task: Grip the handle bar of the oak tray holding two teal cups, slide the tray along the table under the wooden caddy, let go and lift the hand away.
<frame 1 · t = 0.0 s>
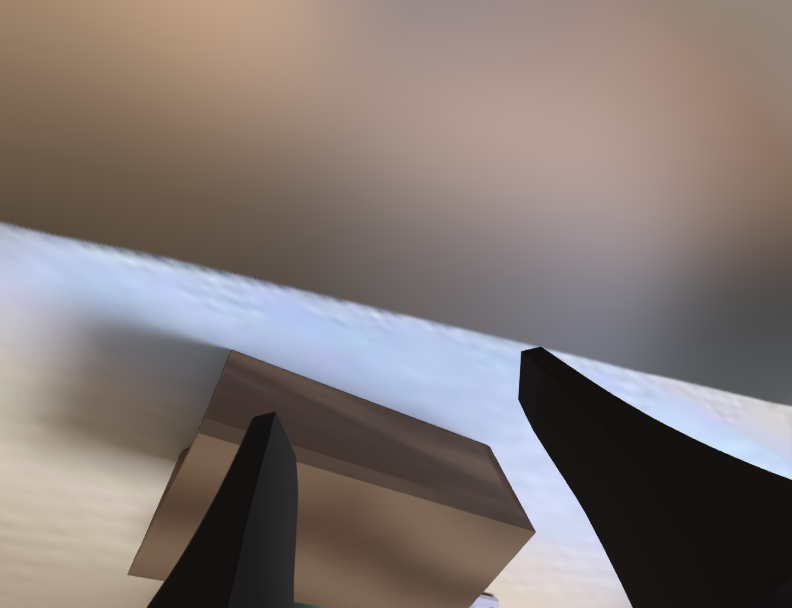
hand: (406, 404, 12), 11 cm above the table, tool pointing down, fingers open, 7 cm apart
wooden caddy: (344, 454, 25), on the table
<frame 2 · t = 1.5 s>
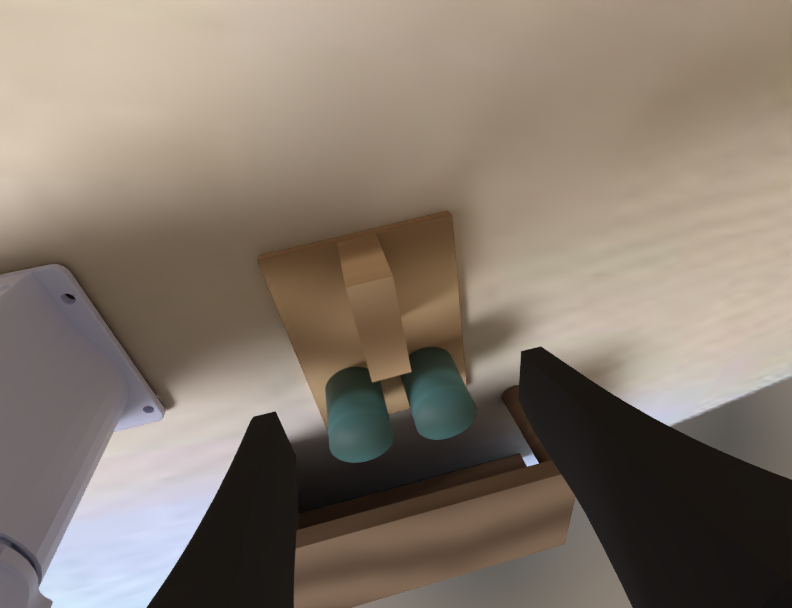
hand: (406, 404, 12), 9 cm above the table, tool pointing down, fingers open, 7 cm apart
tray: (377, 327, 22), on the table
wooden caddy: (402, 456, 28), on the table
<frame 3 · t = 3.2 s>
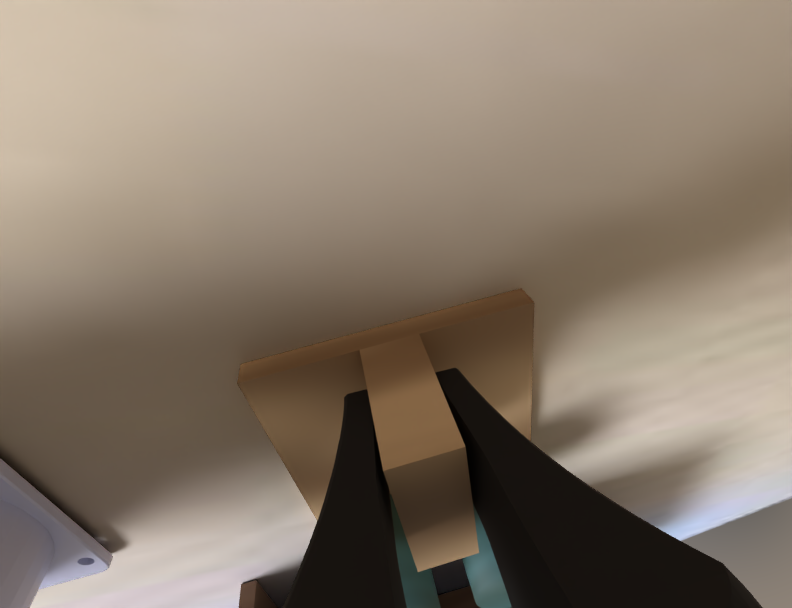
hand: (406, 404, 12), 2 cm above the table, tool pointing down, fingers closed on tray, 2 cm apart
tray: (412, 439, 16), on the table, touching gripper
wooden caddy: (431, 570, 22), on the table
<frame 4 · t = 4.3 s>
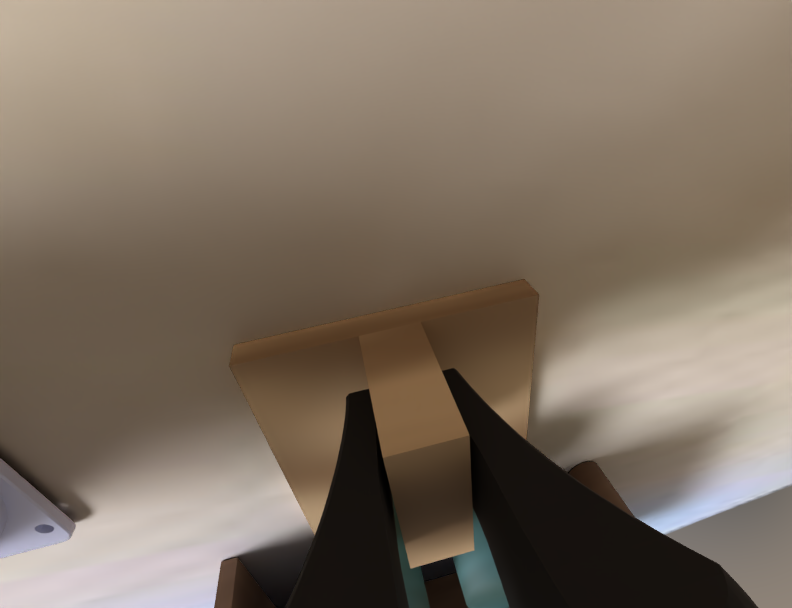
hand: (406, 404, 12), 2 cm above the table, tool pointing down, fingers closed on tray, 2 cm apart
tray: (406, 434, 15), on the table, touching gripper
wooden caddy: (427, 550, 21), on the table
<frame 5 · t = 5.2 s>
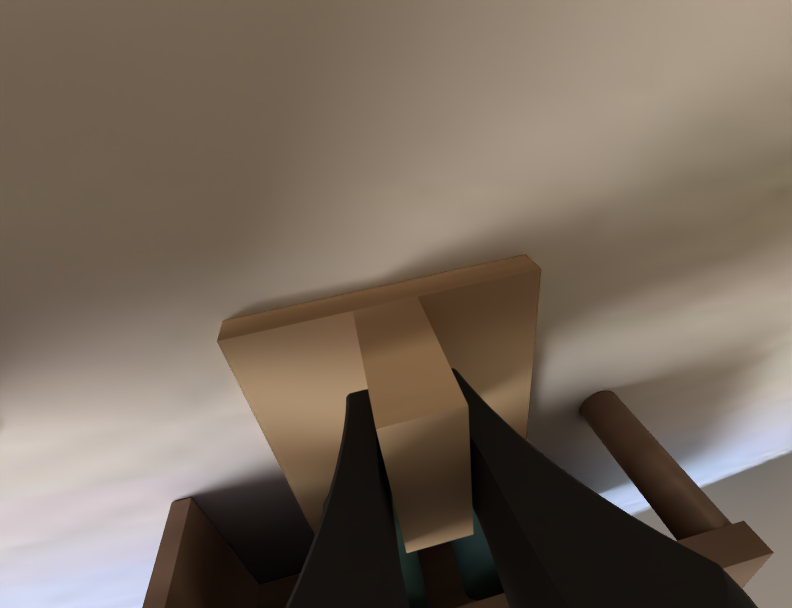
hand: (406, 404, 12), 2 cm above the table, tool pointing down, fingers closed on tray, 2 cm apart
tray: (403, 419, 15), on the table, touching gripper
wooden caddy: (418, 500, 18), on the table
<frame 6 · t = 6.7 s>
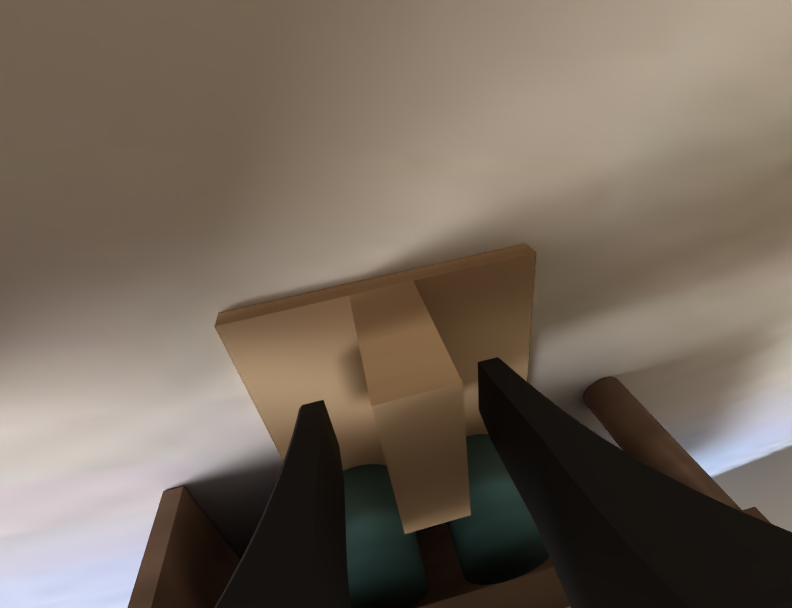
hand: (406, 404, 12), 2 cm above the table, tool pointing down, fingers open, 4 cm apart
tray: (402, 406, 15), on the table
wooden caddy: (417, 490, 17), on the table
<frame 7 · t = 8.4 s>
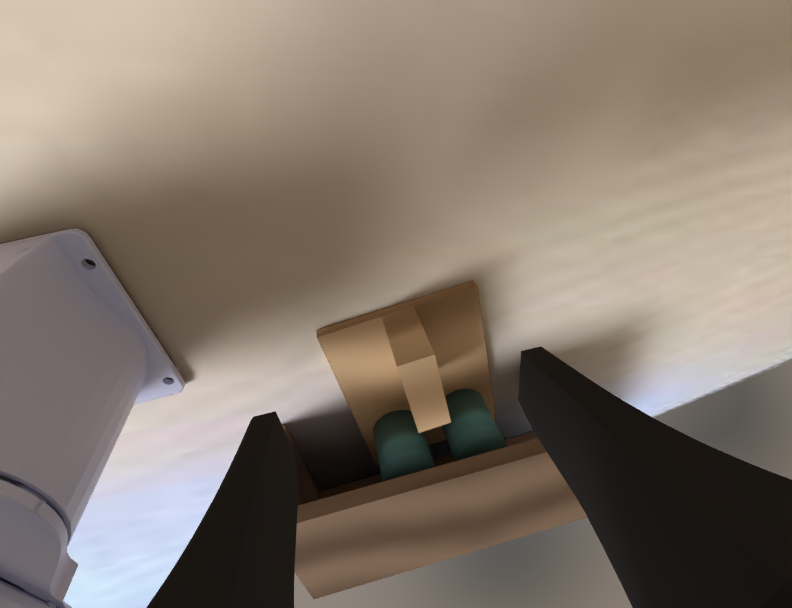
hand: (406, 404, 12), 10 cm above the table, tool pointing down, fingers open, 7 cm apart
tray: (415, 375, 25), on the table
wooden caddy: (420, 431, 28), on the table
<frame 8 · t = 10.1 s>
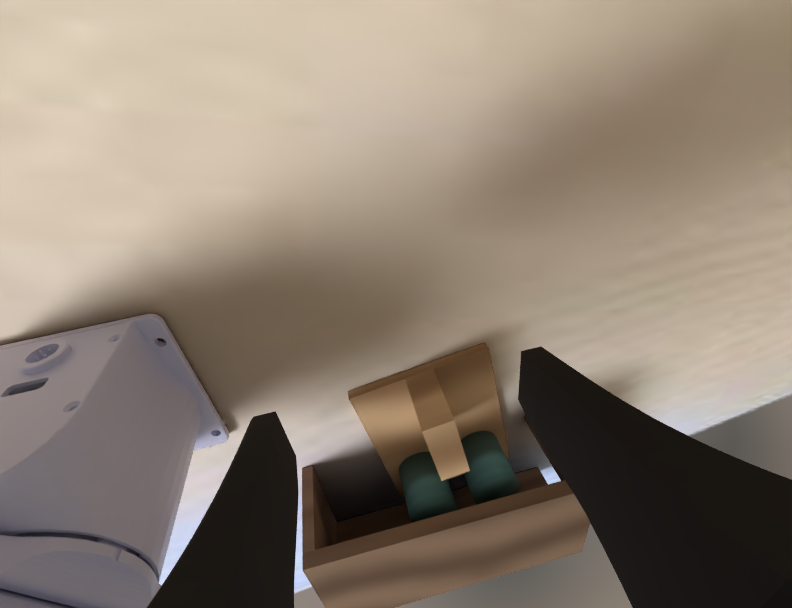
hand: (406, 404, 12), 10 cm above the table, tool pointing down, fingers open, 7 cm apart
tray: (435, 420, 28), on the table
wooden caddy: (432, 470, 31), on the table
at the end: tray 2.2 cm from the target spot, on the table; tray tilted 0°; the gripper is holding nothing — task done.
